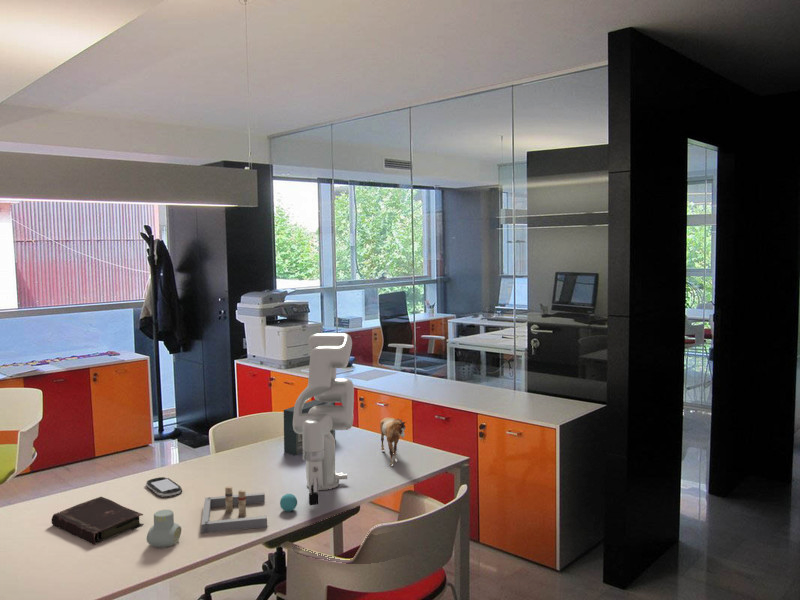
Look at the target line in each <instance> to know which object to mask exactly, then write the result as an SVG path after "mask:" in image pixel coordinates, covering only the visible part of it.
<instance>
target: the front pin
mask: <svg viewBox="0 0 800 600" xmlns="http://www.w3.org/2000/svg"><path fill="white" fill-rule="evenodd" d="M237 493H238V494H237V495H238V500H239V505H238V516H239V517H240V518H244V517H245V516H247V507H246V506H247V504H246V494H247V492H246V490H245V489H239V490H238V492H237Z"/></svg>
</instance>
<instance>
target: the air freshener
mask: <svg viewBox="0 0 800 600" xmlns="http://www.w3.org/2000/svg"><path fill="white" fill-rule="evenodd" d="M174 514H175V513H174V511H173V510H171V509H161V510H158V511H156V512H155V513H154V514H153V525H152V526H151V527H150V528H149V530H148V532H147V535H146V543H148V545H150V546H152V547H154V548H168V547H171V546H173V545H174V544H176V543H177V542H178V541H179V540H180V537H181V535H182V527H181V525H179V524H178V523H176V522H175V519H174V518H175V516H174Z"/></svg>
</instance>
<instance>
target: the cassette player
mask: <svg viewBox="0 0 800 600" xmlns="http://www.w3.org/2000/svg"><path fill="white" fill-rule="evenodd" d="M318 405H336V403H331V402H318V401H316V400H315V399H313V400H311V401H306V403H305V404H304V406H303V408H302V413H308V412H309V410H310V409H311V408H312V407H314V406H318ZM293 415H294V406H292V407H288V408H286V409H283V452H284V454H285V455H286V454H287V455H291V456H295V455H296V456H299V455H301V454H303V434H297V433H296V432H295V431H294V429H293ZM330 433H331V434H332V435H333V437H334V439H335V440H336V430H330Z"/></svg>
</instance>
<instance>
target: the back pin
mask: <svg viewBox="0 0 800 600" xmlns="http://www.w3.org/2000/svg"><path fill="white" fill-rule="evenodd" d="M224 491H225V492H224V493H225V495H224V496H225V499H226V506H225V513H228V514H229V513H230V514H231V513H232V512H233V511H234V509H233V506H234V505H233V497H232V495H234V494H233V487H232V486H231V485H229V486H226V487H225V488H224Z"/></svg>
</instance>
